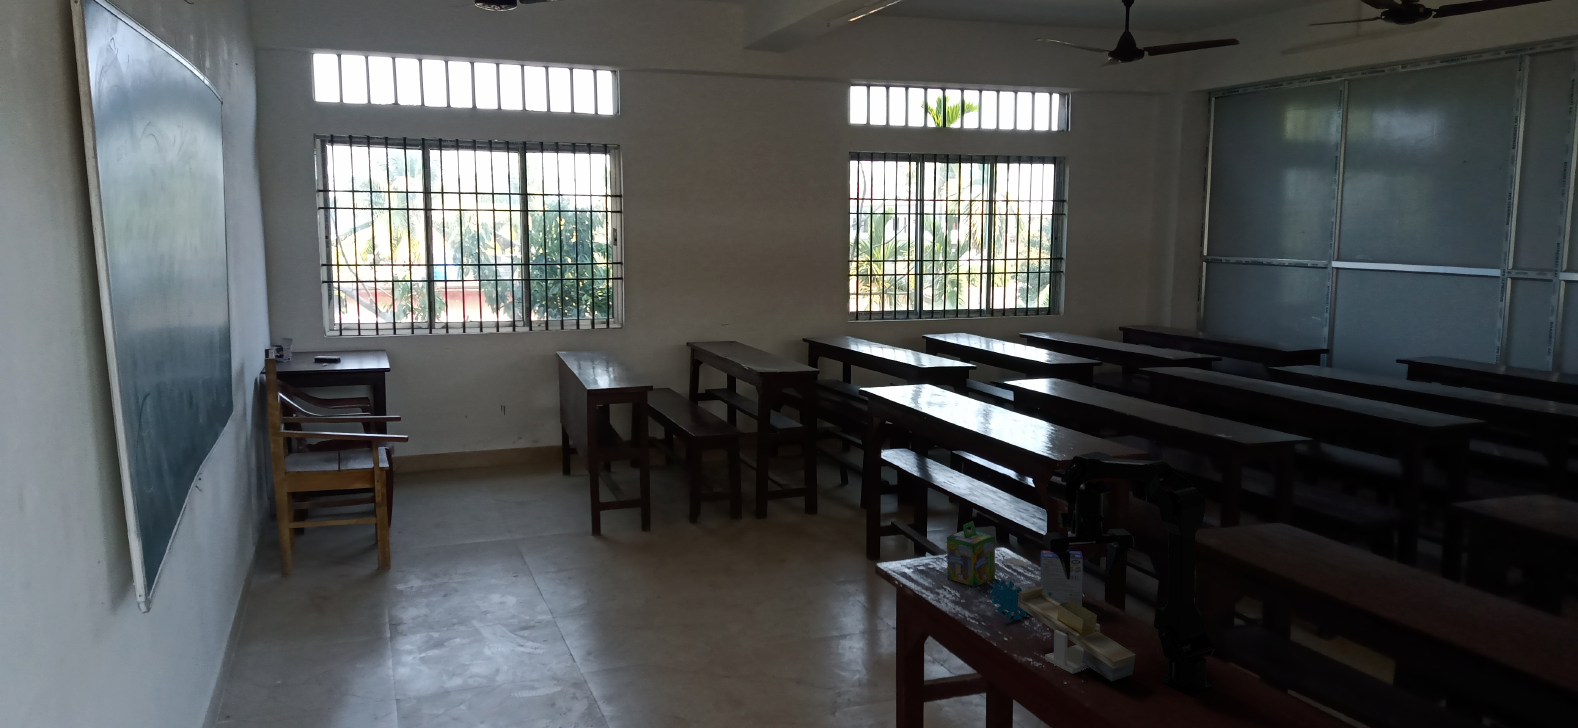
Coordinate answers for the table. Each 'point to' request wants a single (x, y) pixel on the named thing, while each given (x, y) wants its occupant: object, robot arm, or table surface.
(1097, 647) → the seesaw beam
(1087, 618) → the beige rectangular block
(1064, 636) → the pivot stand
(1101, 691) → the table surface
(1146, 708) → the table surface
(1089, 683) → the table surface
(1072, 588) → the ink cartridge box
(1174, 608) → the robot arm
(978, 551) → the chalk box
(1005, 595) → the gear
